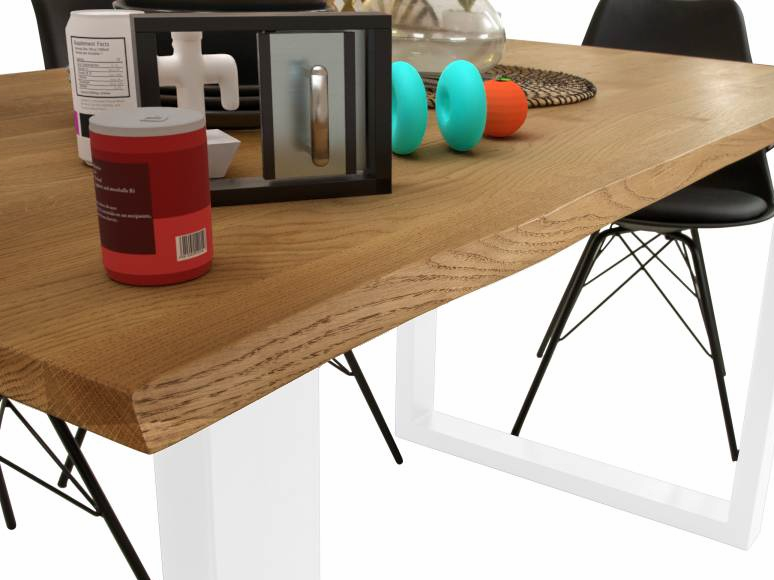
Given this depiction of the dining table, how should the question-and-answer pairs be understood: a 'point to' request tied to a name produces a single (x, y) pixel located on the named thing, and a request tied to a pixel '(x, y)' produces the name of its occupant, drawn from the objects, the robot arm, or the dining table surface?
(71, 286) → the dining table surface
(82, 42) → the supplement can
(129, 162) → the canned food
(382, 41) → the window frame
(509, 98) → the clementine
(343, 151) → the window pane
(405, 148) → the donuts
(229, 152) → the white faucet
